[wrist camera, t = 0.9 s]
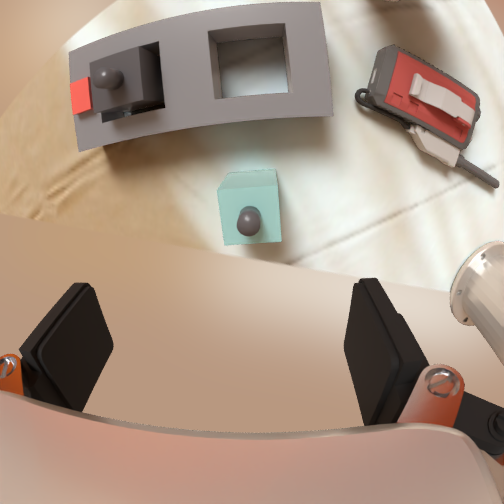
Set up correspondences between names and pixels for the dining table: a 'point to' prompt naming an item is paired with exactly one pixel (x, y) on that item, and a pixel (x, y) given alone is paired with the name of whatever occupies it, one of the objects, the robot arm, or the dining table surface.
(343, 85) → the dining table surface
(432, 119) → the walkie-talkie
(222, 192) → the plug
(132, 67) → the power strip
